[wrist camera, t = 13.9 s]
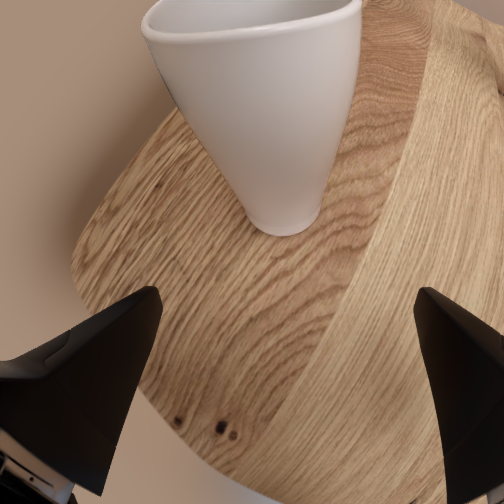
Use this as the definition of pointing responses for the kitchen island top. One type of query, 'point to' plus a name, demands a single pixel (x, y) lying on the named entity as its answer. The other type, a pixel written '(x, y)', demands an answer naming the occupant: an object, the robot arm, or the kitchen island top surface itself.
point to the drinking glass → (263, 94)
